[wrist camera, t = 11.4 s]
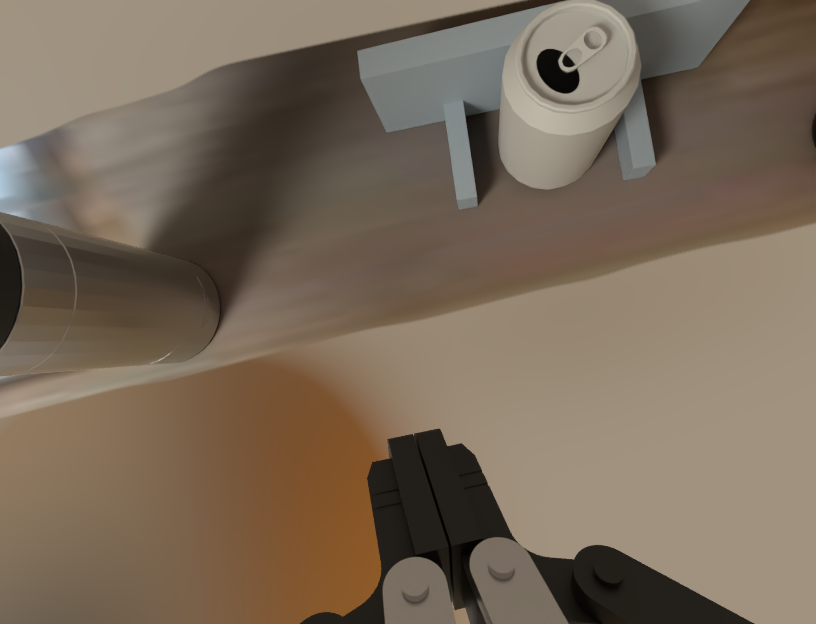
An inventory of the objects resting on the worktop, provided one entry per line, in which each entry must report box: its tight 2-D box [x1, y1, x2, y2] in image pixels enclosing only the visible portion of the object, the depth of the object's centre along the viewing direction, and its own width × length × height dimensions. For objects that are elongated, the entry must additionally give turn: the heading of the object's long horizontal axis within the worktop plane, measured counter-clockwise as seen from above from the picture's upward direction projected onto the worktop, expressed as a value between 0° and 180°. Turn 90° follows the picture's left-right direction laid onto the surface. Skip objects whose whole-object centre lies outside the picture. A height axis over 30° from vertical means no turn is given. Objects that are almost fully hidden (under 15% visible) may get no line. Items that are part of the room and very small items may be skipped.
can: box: [498, 0, 641, 189], centre depth 30 cm, size 8×8×12 cm
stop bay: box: [357, 0, 750, 210], centre depth 32 cm, size 24×10×8 cm, turn 98°
